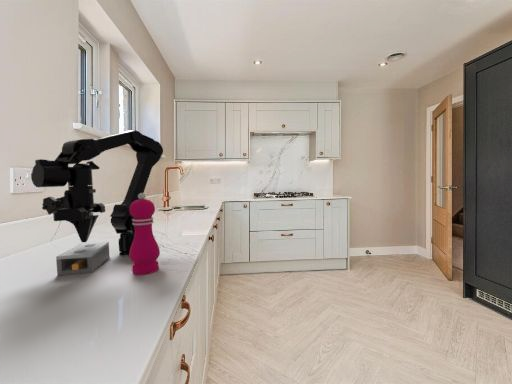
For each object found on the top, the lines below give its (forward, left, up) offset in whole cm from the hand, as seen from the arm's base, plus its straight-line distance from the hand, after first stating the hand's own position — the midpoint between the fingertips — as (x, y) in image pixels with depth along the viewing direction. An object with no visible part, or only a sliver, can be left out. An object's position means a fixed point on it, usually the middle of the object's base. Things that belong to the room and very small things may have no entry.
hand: (84, 242), depth 76 cm
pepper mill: (-18, +10, -7) cm, 21 cm away
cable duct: (0, 0, -7) cm, 7 cm away
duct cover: (0, 0, -3) cm, 3 cm away
